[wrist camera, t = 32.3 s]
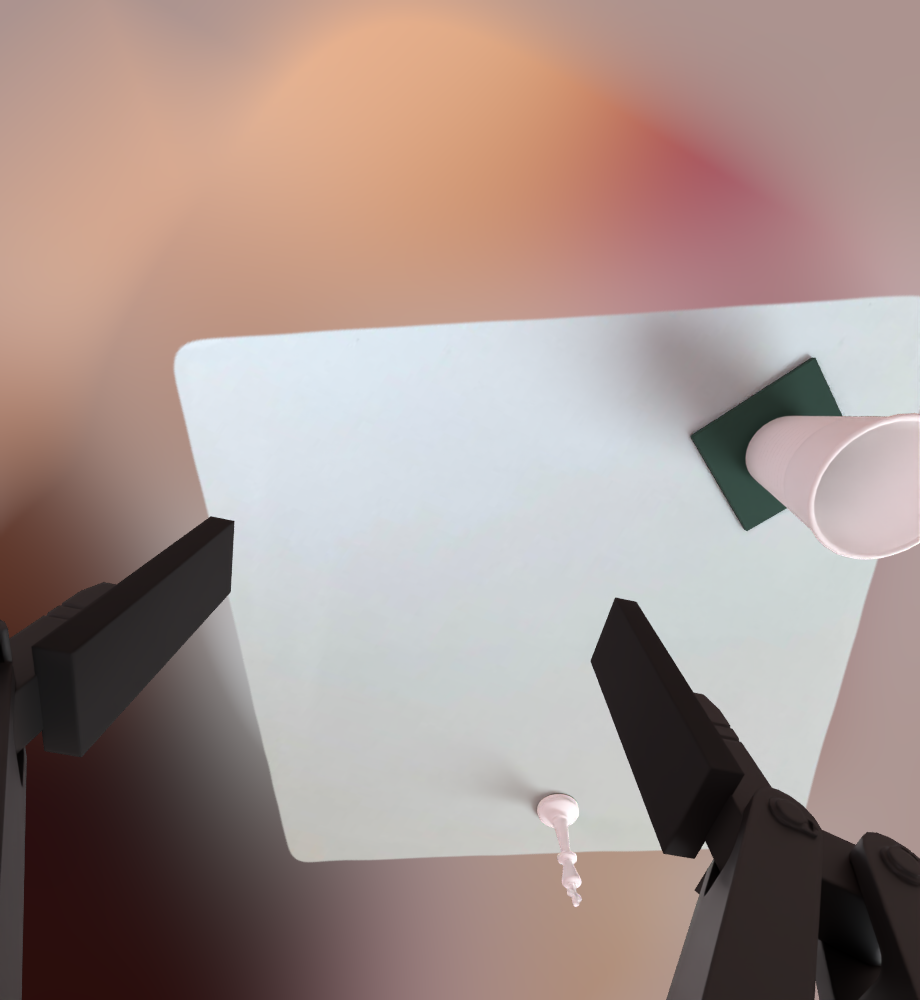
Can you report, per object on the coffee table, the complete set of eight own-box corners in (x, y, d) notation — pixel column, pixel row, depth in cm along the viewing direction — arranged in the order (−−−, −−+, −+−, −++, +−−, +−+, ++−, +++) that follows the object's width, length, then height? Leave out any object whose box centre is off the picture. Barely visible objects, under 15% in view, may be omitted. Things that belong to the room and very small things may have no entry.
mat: (689, 435, 40) (692, 436, 40) (812, 357, 38) (815, 357, 37) (744, 529, 43) (746, 531, 42) (860, 462, 41) (864, 463, 40)
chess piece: (556, 828, 57) (574, 926, 47) (528, 808, 56) (541, 905, 46) (586, 808, 55) (611, 904, 46) (558, 787, 54) (577, 882, 45)
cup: (711, 417, 39) (799, 447, 29) (832, 374, 38) (971, 389, 27) (731, 518, 42) (817, 578, 32) (844, 482, 41) (972, 532, 30)
